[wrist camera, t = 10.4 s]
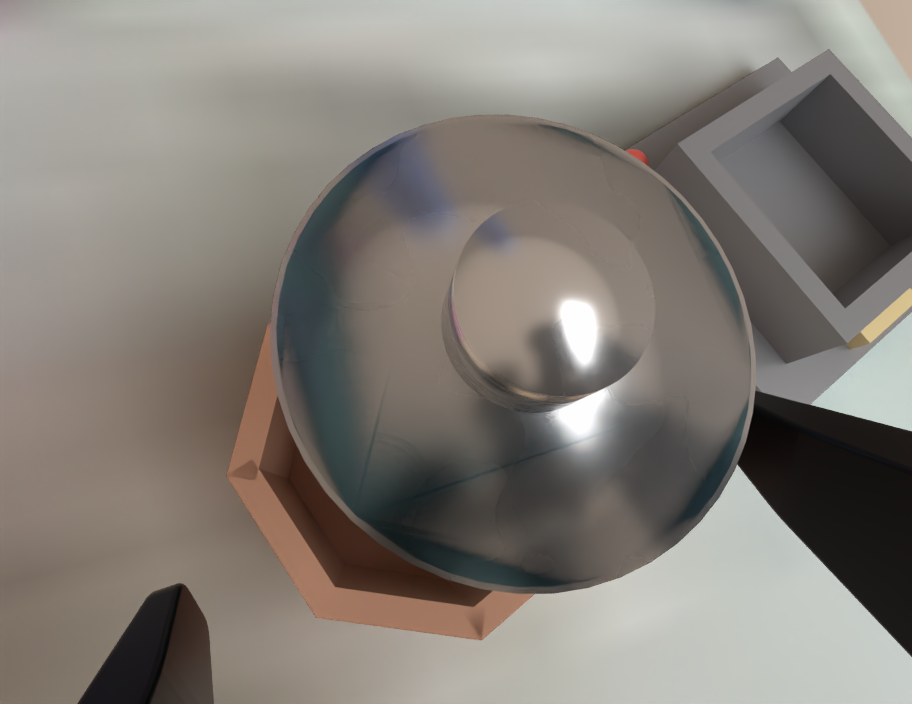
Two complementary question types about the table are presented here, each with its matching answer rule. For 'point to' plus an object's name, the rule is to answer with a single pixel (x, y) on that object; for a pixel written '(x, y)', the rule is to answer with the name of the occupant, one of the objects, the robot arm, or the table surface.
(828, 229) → the tray
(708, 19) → the table surface
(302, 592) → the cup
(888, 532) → the robot arm
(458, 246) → the battery
